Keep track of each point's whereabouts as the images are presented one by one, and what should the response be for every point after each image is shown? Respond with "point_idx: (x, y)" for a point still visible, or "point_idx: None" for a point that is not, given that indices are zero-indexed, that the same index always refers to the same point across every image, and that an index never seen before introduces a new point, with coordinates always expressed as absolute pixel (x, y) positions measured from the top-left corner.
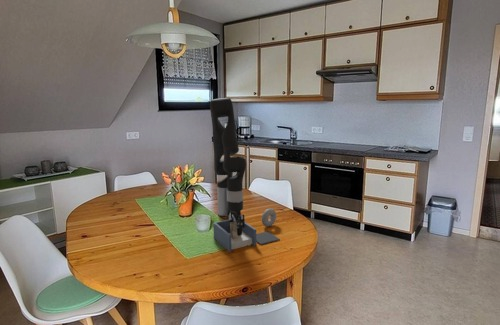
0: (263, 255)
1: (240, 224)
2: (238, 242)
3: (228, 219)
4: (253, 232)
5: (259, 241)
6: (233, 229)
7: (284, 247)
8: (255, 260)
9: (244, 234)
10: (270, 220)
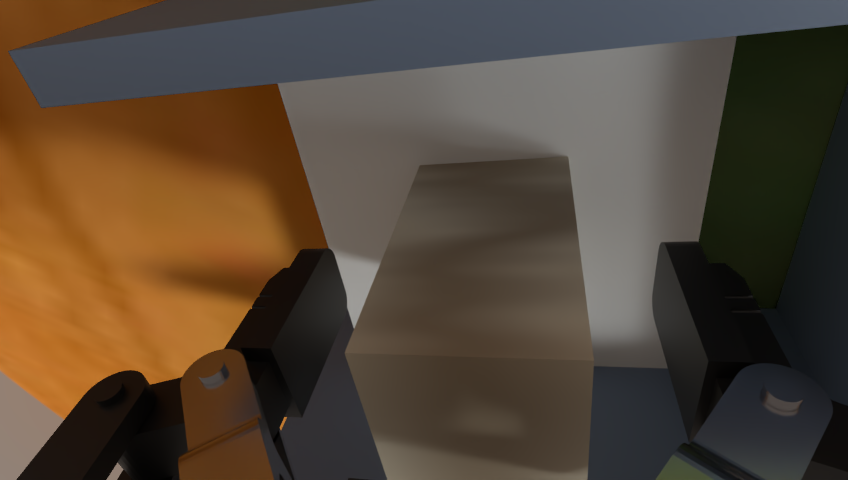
0: (136, 284)
1: (45, 467)
2: (314, 185)
3: (822, 422)
4: (306, 435)
5: None
6: (390, 272)
7: None
8: (36, 187)
9: None
10: None
